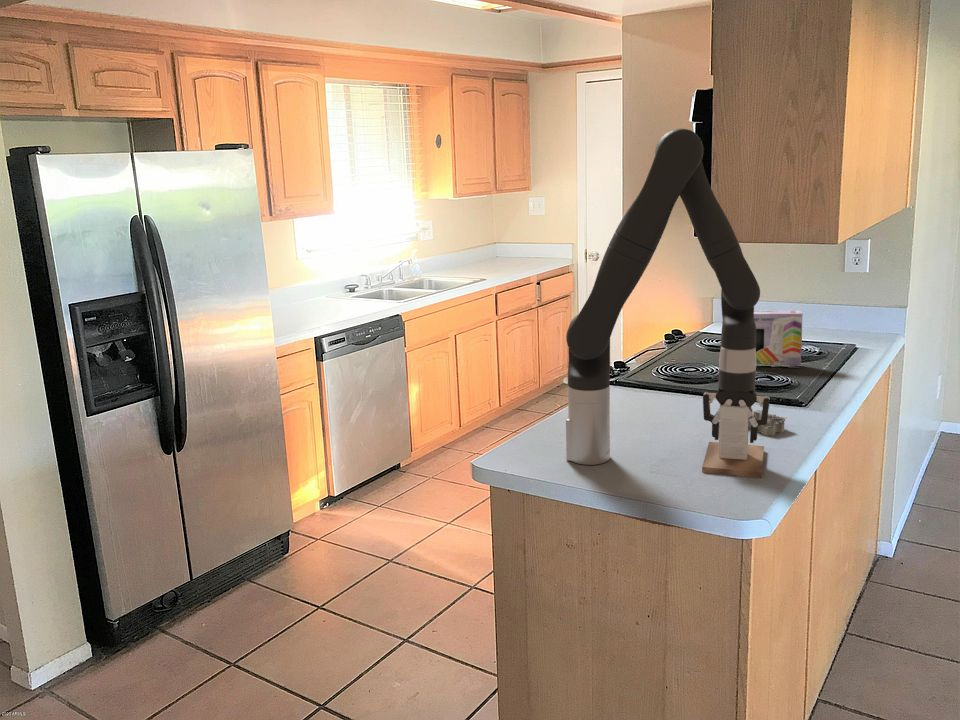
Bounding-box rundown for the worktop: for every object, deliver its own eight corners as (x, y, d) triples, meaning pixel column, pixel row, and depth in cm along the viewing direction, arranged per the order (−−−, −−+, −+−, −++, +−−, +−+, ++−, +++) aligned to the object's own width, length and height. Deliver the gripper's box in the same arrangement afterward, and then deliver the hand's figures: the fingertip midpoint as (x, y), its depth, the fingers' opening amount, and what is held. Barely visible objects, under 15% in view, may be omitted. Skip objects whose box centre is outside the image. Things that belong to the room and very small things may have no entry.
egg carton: (733, 426, 198) (733, 410, 197) (754, 420, 202) (755, 405, 201) (768, 438, 189) (768, 421, 188) (789, 431, 193) (790, 415, 192)
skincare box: (747, 453, 176) (750, 402, 173) (746, 460, 172) (749, 408, 169) (719, 451, 178) (720, 400, 175) (717, 458, 174) (719, 406, 171)
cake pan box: (735, 367, 251) (737, 312, 247) (735, 363, 256) (737, 308, 251) (801, 369, 245) (804, 312, 241) (799, 365, 250) (802, 309, 246)
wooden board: (702, 472, 170) (702, 466, 170) (708, 446, 185) (709, 441, 185) (761, 477, 166) (761, 472, 166) (763, 451, 181) (764, 446, 180)
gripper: (700, 369, 169) (698, 443, 173) (772, 373, 164) (768, 449, 168) (704, 361, 176) (702, 432, 180) (773, 364, 171) (769, 437, 175)
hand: (734, 440), depth 174 cm, fingers open, 6 cm apart
